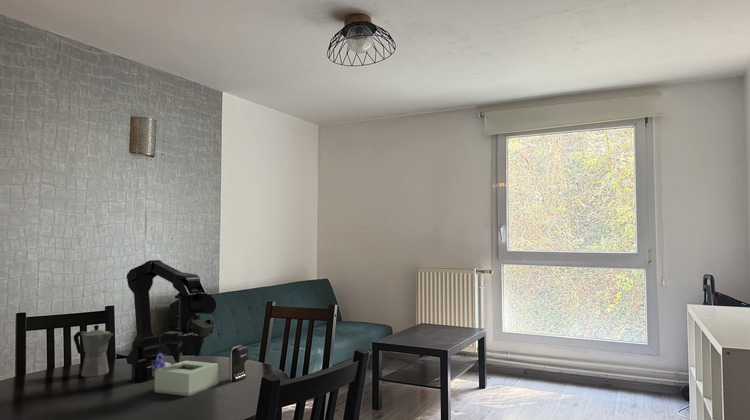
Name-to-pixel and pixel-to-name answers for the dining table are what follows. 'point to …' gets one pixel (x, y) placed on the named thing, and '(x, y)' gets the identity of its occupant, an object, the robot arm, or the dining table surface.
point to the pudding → (159, 362)
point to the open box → (186, 378)
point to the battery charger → (238, 362)
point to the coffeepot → (94, 351)
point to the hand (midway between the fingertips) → (187, 359)
